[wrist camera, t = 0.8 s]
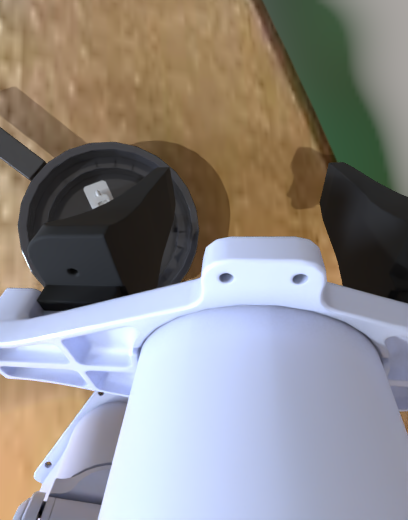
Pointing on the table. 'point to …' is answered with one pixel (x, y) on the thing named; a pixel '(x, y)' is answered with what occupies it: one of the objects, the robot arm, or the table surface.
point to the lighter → (98, 194)
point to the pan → (118, 181)
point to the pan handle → (19, 156)
